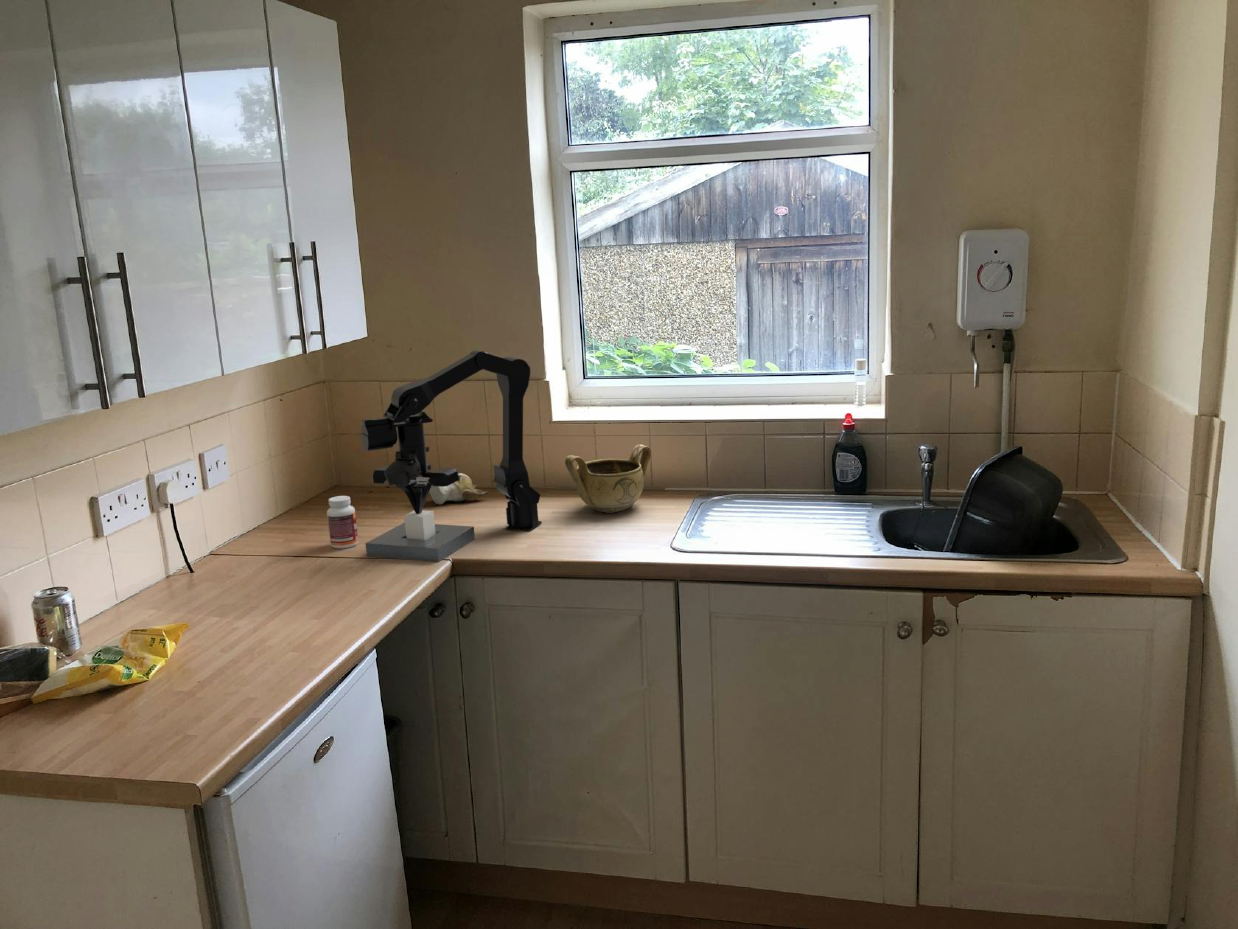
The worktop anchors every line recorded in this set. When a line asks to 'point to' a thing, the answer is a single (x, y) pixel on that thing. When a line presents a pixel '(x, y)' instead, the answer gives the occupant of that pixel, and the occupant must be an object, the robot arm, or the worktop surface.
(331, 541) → the pill bottle
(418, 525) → the white rectangular block
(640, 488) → the ceramic bowl
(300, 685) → the worktop surface
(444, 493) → the ceramic sculpture
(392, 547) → the jig plate
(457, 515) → the worktop surface
